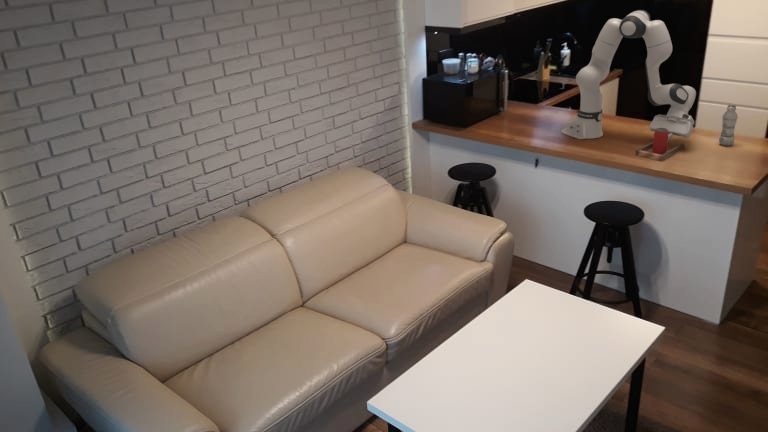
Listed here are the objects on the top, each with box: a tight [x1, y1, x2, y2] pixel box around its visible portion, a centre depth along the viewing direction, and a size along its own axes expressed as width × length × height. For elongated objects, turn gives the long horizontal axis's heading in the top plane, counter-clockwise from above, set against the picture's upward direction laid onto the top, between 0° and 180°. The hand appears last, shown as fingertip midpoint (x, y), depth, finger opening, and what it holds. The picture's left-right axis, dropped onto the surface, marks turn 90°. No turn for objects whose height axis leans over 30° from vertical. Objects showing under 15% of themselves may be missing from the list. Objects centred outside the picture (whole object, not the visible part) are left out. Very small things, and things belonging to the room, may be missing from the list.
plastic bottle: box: [718, 104, 738, 146], centre depth 301 cm, size 6×7×20 cm
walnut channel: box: [635, 141, 686, 162], centre depth 305 cm, size 14×22×2 cm, turn 129°
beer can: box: [651, 128, 669, 155], centre depth 302 cm, size 7×7×12 cm
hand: (664, 141), depth 305 cm, fingers closed, pressing on beer can
